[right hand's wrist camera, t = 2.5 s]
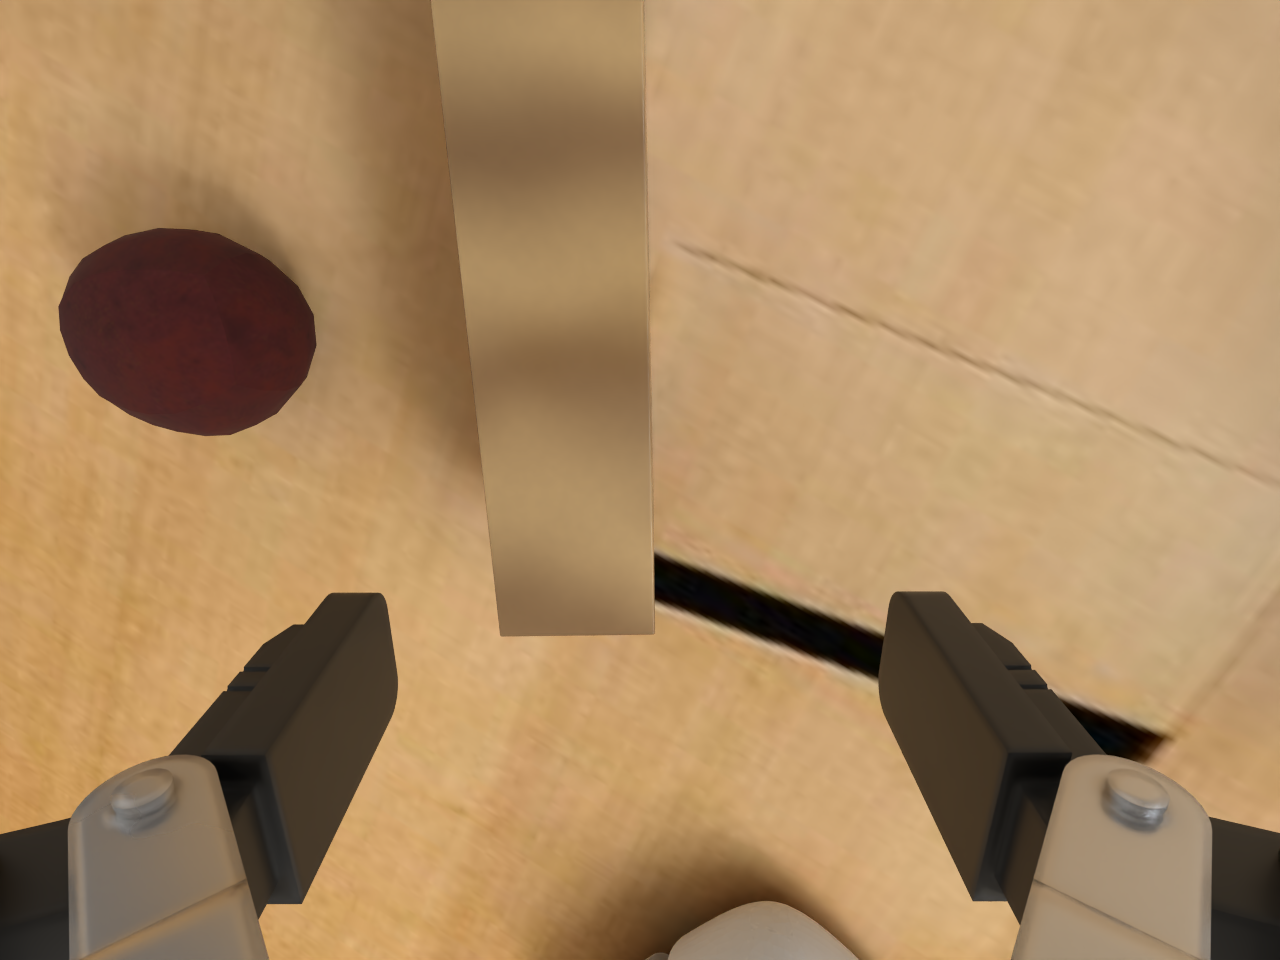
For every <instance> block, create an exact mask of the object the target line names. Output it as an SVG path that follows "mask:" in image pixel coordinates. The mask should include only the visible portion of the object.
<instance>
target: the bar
mask: <svg viewBox="0 0 1280 960" xmlns="http://www.w3.org/2000/svg"><path fill="white" fill-rule="evenodd" d="M430 1H431V10H432V19H433V28H434V37H435V46H436V55H437V65H438V74H439V83H440V92H441V101H442V110H443V119H444V128H445V137H446V146H447V155H448V165H449V174H450V183H451V192H452V201H453V210H454V219H455V228H456V237H457V246H458V255H459V264H460V274H461V283H462V292H463V301H464V310H465V319H466V328H467V337H468V346H469V355H470V364H471V374H472V383H473V392H474V401H475V410H476V419H477V428H478V437H479V446H480V455H481V464H482V474H483V483H484V492H485V501H486V510H487V519H488V528H489V537H490V546H491V555H492V564H493V574H494V583H495V592H496V601H497V610H498V619H499V628H500V635H501V636H573V635H651V634H654V633H655V599H654V514H653V460H652V405H651V351H650V296H649V241H648V187H647V132H646V78H645V23H644V0H430Z"/></svg>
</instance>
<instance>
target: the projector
mask: <svg viewBox="0 0 1280 960" xmlns="http://www.w3.org/2000/svg"><path fill="white" fill-rule="evenodd" d="M645 960H859V959H858V958H857V957H856V956H855V955H854V954H853V953H852V952H851V951H850V950H849V949H847V948H846V947H845V946H844V945H843V944H842V943H841V942H840V941H839V940H837V939H836V938H835V937H834V936H833V935H832V934H831V933H829V932H828V931H827V930H826V929H824V928H823V927H822V926H821V925H819V924H818V923H817V922H816V921H814V920H813V919H811V918H810V917H808V916H807V915H805V914H804V913H802V912H800V911H798V910H796V909H794V908H792V907H790V906H788V905H786V904H782V903H779V902H773V901H759V902H753V903H748V904H745V905H741V906H739V907H736V908H733V909H731V910H729V911H727V912H725V913H722V914H720V915H719V916H717V917H715V918H713V919H711V920H710V921H708V922H706V923H704V924H702V925H700V926H699V927H697V928H695V929H694V930H692V931H690V932H689V933H687V934H685V935H684V936H682V937H681V938H680V939H679V940H678V941H677V942H676V943H675V945H674V946H673V948H672V950H671V952H670V954H669V955H668V954H666V953H655V954H653V955H651V956H650V957H648V958H647V959H645Z"/></svg>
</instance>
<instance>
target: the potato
mask: <svg viewBox="0 0 1280 960" xmlns="http://www.w3.org/2000/svg"><path fill="white" fill-rule="evenodd" d="M59 320H60V331H61V334H62V337H63V340H64V342H65V345H66V348H67V351H68V354H69V356H70V358H71V360H72V361H73V363H74V364H75V366H76V368H77V369H78V371H79V372H80V374H81V376H82V377H83V379H84V380H85V381H86V382H87V383H88V384H89V385H90V386H91V387H92V388H93V389H94V390H95V391H96V393H97V394H98V395H99V396H101V397H102V398H104V399H106V400H108V401H110V402H111V403H113V404H114V405H116V406H117V407H119V408H120V409H122V410H123V411H125V412H126V413H128V414H129V415H131V416H134V417H136V418H138V419H141V420H143V421H145V422H147V423H150V424H152V425H155V426H159V427H162V428H166V429H170V430H173V431H177V432H183V433H190V434H196V435H203V436H216V435H231V434H234V433H236V432H239V431H242V430H244V429H247V428H249V427H252V426H254V425H257V424H258V423H260V422H262V421H264V420H266V419H267V418H269V417H271V416H273V415H275V414H277V413H278V411H279V410H280V409H281V408H282V407H283V405H284V404H285V403H286V402H287V401H288V400H289V398H290V397H291V396H292V395H293V394H294V393H295V391H296V390H297V389H298V388H299V387H300V386H301V384H302V383H303V381H304V380H305V379H306V377H307V374H308V371H309V368H310V365H311V361H312V358H313V355H314V352H315V348H316V336H315V325H314V315H313V313H312V311H311V309H310V307H309V306H308V304H307V302H306V300H305V298H304V296H303V295H302V293H301V291H300V289H299V287H298V286H297V285H296V284H295V283H294V282H293V281H291V280H290V279H289V278H288V277H287V276H286V275H285V274H284V273H283V272H282V271H281V270H279V269H278V268H277V267H276V266H275V265H274V264H273V263H272V262H271V261H269V260H268V259H266V258H265V257H263V256H261V255H260V254H258V253H256V252H254V251H252V250H250V249H248V248H246V247H244V246H242V245H240V244H238V243H236V242H234V241H232V240H230V239H228V238H226V237H224V236H222V235H220V234H216V233H210V232H203V231H197V230H189V229H166V228H157V229H152V230H148V231H143V232H139V233H134V234H130V235H125V236H123V237H121V238H119V239H117V240H115V241H113V242H111V243H108V244H106V245H104V246H103V247H101V248H99V249H98V250H96V251H94V252H93V253H91V254H90V255H88V256H86V257H85V258H83V259H82V260H81V262H80V263H79V264H78V266H77V267H76V269H75V270H74V271H73V273H72V274H71V276H70V277H69V280H68V283H67V286H66V289H65V292H64V295H63V297H62V300H61V302H60V304H59Z"/></svg>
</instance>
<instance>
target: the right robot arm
mask: <svg viewBox="0 0 1280 960" xmlns="http://www.w3.org/2000/svg"><path fill="white" fill-rule="evenodd" d="M397 691H398V676H397V669H396V662H395V655H394V649H393V642H392V635H391V629H390V622H389V615H388V609H387V604H386V600H385V598H384V596H383V595H382V594H381V593H331V594H329V595H328V596H327V597H326V598H325V599H324V600H323V602H322V603H321V604H320V605H319V607H318V608H317V609H316V610H315V612H314V613H313V614H312V616H311V617H310V618H309V619H308V621H307V622H306V623H305V624H304V625H292V626H291V627H289V628H287V629H286V630H284V631H283V632H281V633H280V634H278V635H277V636H275V637H274V638H272V639H271V640H269V641H267V642H266V643H264V644H263V645H262V646H261V648H260V649H259V650H258V651H257V652H256V653H255V655H254V656H253V657H252V658H251V659H250V661H249V662H248V663H247V664H246V665H245V666H244V671H243V672H239V673H238V675H237V676H236V677H235V678H234V679H233V681H232V682H231V683H230V684H229V685H228V689H227V691H223V692H222V693H221V695H220V696H219V697H218V698H217V699H216V701H215V702H214V703H213V704H212V705H211V706H210V708H209V709H208V710H207V711H206V712H205V713H204V715H203V716H202V717H201V718H200V719H199V721H198V722H197V723H196V724H195V725H194V726H193V728H192V729H191V730H190V731H189V732H188V734H187V735H186V736H185V737H184V738H183V739H182V741H181V742H180V743H179V744H178V745H177V746H176V748H175V749H174V750H173V751H172V752H171V754H170V755H169V756H164V757H160V758H156V759H152V760H149V761H146V762H143V763H140V764H138V765H135V766H133V767H131V768H128V769H126V770H124V771H122V772H120V773H119V774H117V775H115V776H113V777H112V778H110V779H109V780H107V781H105V782H104V783H103V784H101V785H100V786H99V787H97V788H96V789H95V790H94V791H92V792H91V793H90V794H89V795H88V796H87V797H86V798H85V799H84V800H83V801H82V802H81V803H80V805H79V806H78V807H77V809H76V810H75V812H74V813H73V815H72V817H71V818H68V819H64V820H60V821H56V822H52V823H47V824H43V825H39V826H34V827H30V828H26V829H21V830H17V831H13V832H8V833H4V834H0V960H269V957H268V953H267V950H266V946H265V943H264V939H263V935H262V932H261V928H260V925H259V921H258V919H259V918H260V916H261V914H262V912H263V910H264V908H265V906H266V904H302V902H303V900H304V898H305V896H306V894H307V892H308V890H309V888H310V886H311V884H312V881H313V879H314V877H315V875H316V873H317V871H318V869H319V867H320V865H321V863H322V861H323V859H324V857H325V854H326V852H327V850H328V848H329V846H330V844H331V842H332V840H333V838H334V836H335V834H336V832H337V830H338V827H339V825H340V823H341V821H342V819H343V817H344V815H345V813H346V811H347V809H348V807H349V805H350V803H351V800H352V798H353V796H354V794H355V792H356V790H357V788H358V786H359V784H360V782H361V780H362V778H363V775H364V773H365V771H366V769H367V767H368V765H369V763H370V761H371V759H372V757H373V755H374V753H375V751H376V748H377V746H378V744H379V742H380V740H381V738H382V736H383V734H384V732H385V730H386V728H387V726H388V724H389V721H390V719H391V717H392V715H393V712H394V709H395V705H396V699H397ZM879 695H880V701H881V706H882V709H883V713H884V715H885V717H886V719H887V722H888V724H889V726H890V728H891V730H892V732H893V734H894V736H895V738H896V740H897V743H898V745H899V747H900V749H901V751H902V753H903V755H904V757H905V759H906V762H907V764H908V766H909V768H910V770H911V772H912V774H913V776H914V778H915V780H916V783H917V785H918V787H919V789H920V791H921V793H922V795H923V797H924V799H925V801H926V804H927V806H928V808H929V810H930V812H931V814H932V816H933V818H934V820H935V823H936V825H937V827H938V829H939V831H940V833H941V835H942V837H943V839H944V841H945V844H946V846H947V848H948V850H949V852H950V854H951V856H952V858H953V860H954V863H955V865H956V867H957V869H958V871H959V873H960V875H961V877H962V879H963V881H964V884H965V886H966V888H967V890H968V892H969V894H970V896H971V898H972V900H973V901H1008V903H1009V905H1010V907H1011V909H1012V911H1013V913H1014V915H1015V916H1016V918H1017V920H1018V922H1019V924H1020V928H1019V932H1018V935H1017V939H1016V942H1015V946H1014V950H1013V953H1012V957H1011V960H1280V833H1277V832H1272V831H1268V830H1264V829H1259V828H1255V827H1251V826H1246V825H1242V824H1238V823H1233V822H1229V821H1225V820H1220V819H1216V818H1212V817H1208V815H1207V813H1206V812H1205V810H1204V809H1203V807H1202V806H1201V805H1200V803H1199V802H1198V801H1197V800H1196V799H1195V798H1194V797H1193V796H1192V795H1191V794H1190V793H1189V792H1188V791H1186V790H1185V789H1184V788H1183V787H1181V786H1180V785H1179V784H1177V783H1176V782H1175V781H1173V780H1171V779H1170V778H1168V777H1167V776H1165V775H1163V774H1161V773H1160V772H1158V771H1156V770H1154V769H1152V768H1149V767H1147V766H1145V765H1142V764H1140V763H1137V762H1134V761H1131V760H1128V759H1124V758H1120V757H1116V756H1109V755H1106V754H1105V753H1104V751H1103V750H1102V749H1101V748H1100V747H1099V745H1098V744H1097V743H1096V742H1095V741H1094V740H1093V738H1092V737H1091V736H1090V735H1089V734H1088V732H1087V731H1086V730H1085V729H1084V728H1083V726H1082V725H1081V724H1080V723H1079V722H1078V721H1077V719H1076V718H1075V717H1074V716H1073V715H1072V713H1071V712H1070V711H1069V710H1068V709H1067V707H1066V706H1065V705H1064V704H1063V703H1062V702H1061V700H1060V699H1059V698H1058V697H1057V696H1056V694H1055V693H1054V692H1053V691H1052V690H1051V689H1048V688H1047V684H1046V683H1045V681H1044V680H1043V679H1042V678H1041V677H1040V675H1039V674H1038V673H1037V672H1036V671H1035V670H1032V669H1031V665H1030V664H1029V662H1028V661H1027V660H1026V659H1025V658H1024V656H1023V655H1022V654H1021V653H1020V652H1019V650H1018V649H1017V648H1016V647H1015V646H1014V644H1013V643H1012V642H1010V641H1009V640H1007V639H1006V638H1004V637H1002V636H1001V635H999V634H998V633H996V632H995V631H993V630H992V629H990V628H989V627H987V626H986V625H984V624H983V623H971V622H970V621H969V620H968V619H967V617H966V616H965V615H964V613H963V612H962V611H961V610H960V608H959V607H958V606H957V605H956V603H955V602H954V601H953V599H952V598H951V597H950V596H949V595H948V594H947V593H946V592H895V593H894V594H893V595H892V597H891V600H890V603H889V609H888V615H887V622H886V629H885V636H884V642H883V649H882V656H881V663H880V670H879Z"/></svg>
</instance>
